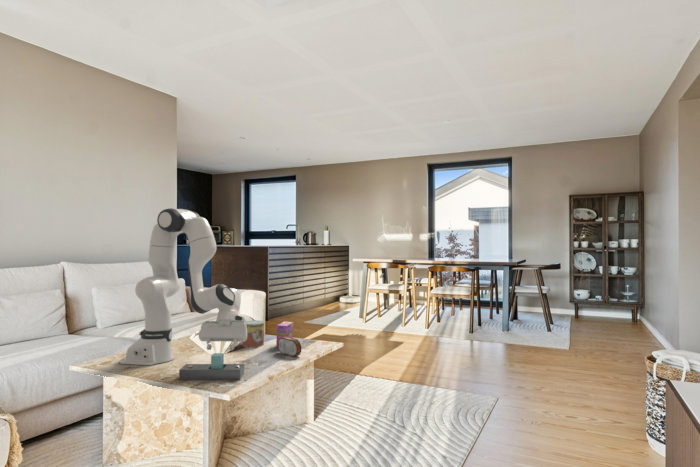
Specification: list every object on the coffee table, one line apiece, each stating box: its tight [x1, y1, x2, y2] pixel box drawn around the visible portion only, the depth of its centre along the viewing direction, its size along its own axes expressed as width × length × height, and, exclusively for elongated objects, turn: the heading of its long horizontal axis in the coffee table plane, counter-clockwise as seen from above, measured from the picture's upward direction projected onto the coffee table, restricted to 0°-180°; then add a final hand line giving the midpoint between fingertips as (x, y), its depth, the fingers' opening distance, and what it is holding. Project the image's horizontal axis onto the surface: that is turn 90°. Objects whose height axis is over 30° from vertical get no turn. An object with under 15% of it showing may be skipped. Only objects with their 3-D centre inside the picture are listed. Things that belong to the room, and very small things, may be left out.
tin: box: [278, 336, 302, 357], centre depth 206 cm, size 15×3×8 cm, turn 48°
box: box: [275, 321, 294, 349], centre depth 224 cm, size 10×6×12 cm, turn 168°
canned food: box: [242, 319, 265, 348], centre depth 225 cm, size 11×11×12 cm
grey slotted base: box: [178, 363, 245, 381], centre depth 172 cm, size 24×8×4 cm, turn 93°
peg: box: [210, 352, 225, 369], centre depth 172 cm, size 4×4×9 cm
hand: (220, 349), depth 177 cm, fingers open, 8 cm apart
